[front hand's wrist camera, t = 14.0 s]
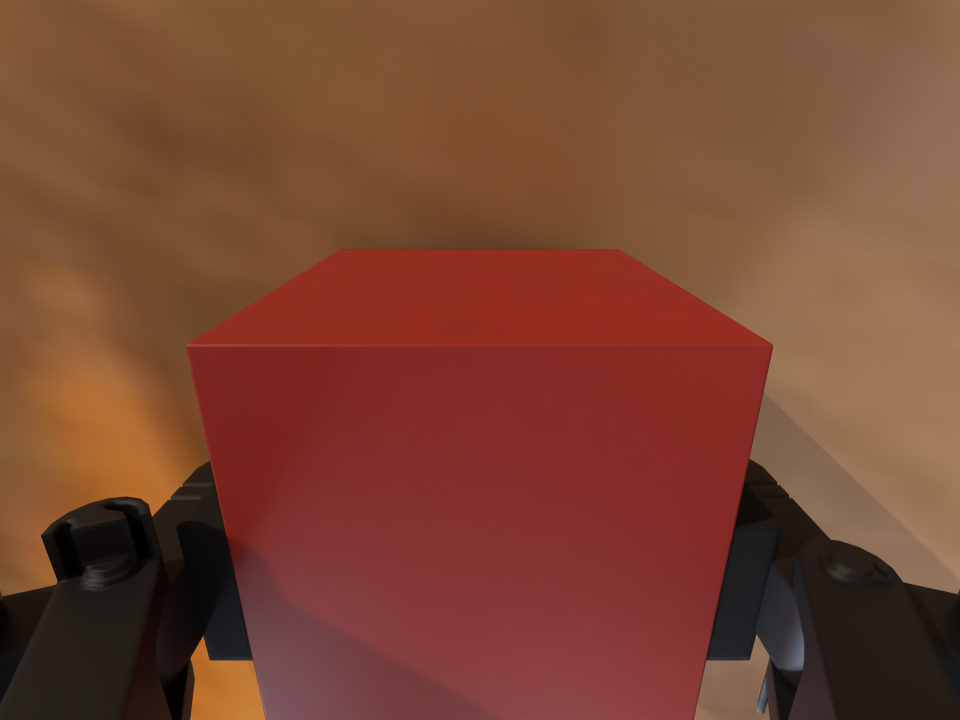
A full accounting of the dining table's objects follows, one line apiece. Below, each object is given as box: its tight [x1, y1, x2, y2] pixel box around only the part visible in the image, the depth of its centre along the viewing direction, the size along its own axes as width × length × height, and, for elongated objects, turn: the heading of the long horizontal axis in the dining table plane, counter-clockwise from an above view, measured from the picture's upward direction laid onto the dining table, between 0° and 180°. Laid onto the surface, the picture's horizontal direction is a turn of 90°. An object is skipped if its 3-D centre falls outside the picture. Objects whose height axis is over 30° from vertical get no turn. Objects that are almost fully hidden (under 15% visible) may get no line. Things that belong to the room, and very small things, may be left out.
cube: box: [186, 249, 773, 720], centre depth 12 cm, size 8×8×8 cm
